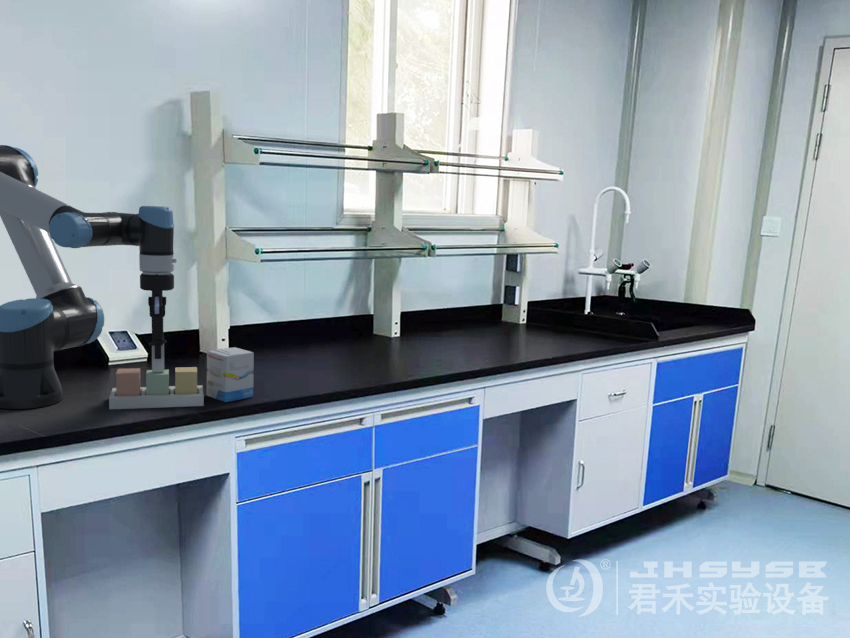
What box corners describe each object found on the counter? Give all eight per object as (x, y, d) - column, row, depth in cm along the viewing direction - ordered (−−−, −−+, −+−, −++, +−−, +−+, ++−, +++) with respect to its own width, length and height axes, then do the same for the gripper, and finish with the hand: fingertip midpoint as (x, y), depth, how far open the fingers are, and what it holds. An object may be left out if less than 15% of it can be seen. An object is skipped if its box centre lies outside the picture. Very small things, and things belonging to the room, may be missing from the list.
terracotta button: (116, 398, 174) (116, 373, 173) (118, 393, 179) (117, 368, 178) (139, 397, 176) (139, 373, 175) (140, 392, 180) (140, 368, 180)
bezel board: (109, 409, 172) (109, 398, 171) (112, 398, 181) (112, 387, 181) (203, 405, 178) (203, 395, 178) (202, 395, 188) (202, 385, 187)
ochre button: (175, 396, 178) (175, 372, 177) (175, 391, 183) (175, 367, 182) (197, 396, 180) (197, 371, 179) (196, 390, 185) (196, 367, 184)
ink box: (254, 397, 188) (254, 351, 186) (225, 402, 182) (225, 356, 180) (234, 390, 194) (235, 346, 192) (205, 395, 187) (205, 350, 186)
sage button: (146, 399, 176) (146, 374, 175) (147, 394, 181) (146, 370, 180) (168, 398, 178) (168, 374, 177) (168, 393, 183) (168, 369, 182)
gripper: (173, 275, 170) (174, 377, 173) (174, 270, 182) (174, 364, 186) (138, 275, 168) (140, 378, 171) (141, 269, 180) (142, 365, 183)
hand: (158, 371), depth 178 cm, fingers closed
